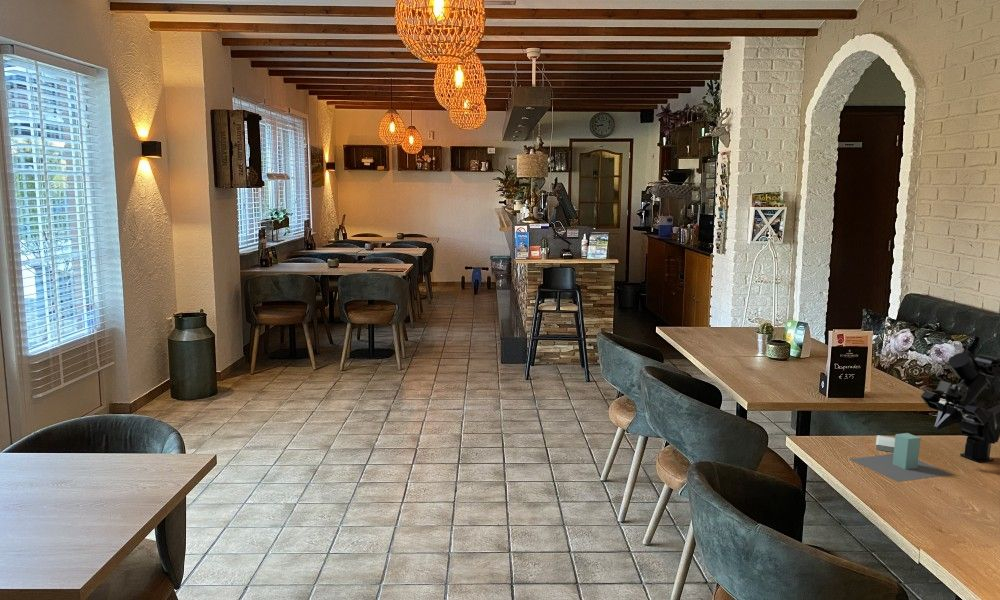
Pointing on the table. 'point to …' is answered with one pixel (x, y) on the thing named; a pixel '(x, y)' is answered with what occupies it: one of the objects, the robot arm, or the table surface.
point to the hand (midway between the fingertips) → (935, 428)
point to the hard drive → (885, 443)
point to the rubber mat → (899, 468)
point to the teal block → (906, 451)
